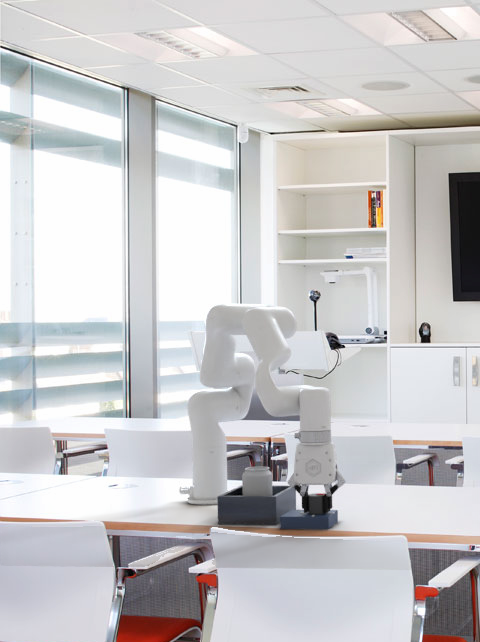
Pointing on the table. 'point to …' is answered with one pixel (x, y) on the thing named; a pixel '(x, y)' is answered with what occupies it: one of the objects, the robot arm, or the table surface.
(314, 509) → the tap knob
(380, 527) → the table surface
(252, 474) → the can
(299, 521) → the panel
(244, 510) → the open storage bin
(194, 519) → the table surface
